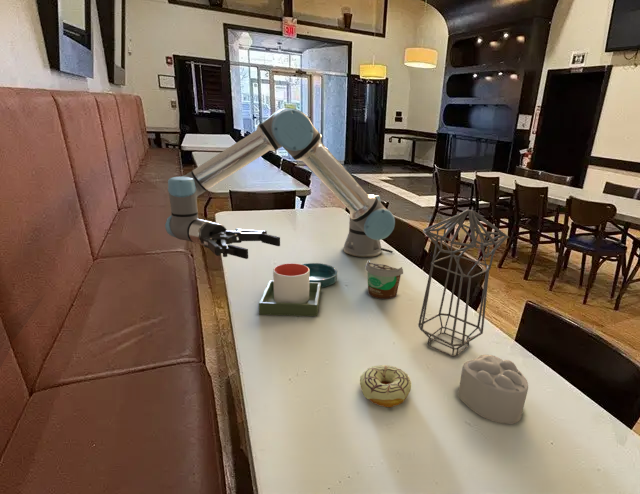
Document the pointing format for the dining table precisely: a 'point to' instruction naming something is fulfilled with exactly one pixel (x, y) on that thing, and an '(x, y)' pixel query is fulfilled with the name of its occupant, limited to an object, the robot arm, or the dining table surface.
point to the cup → (291, 283)
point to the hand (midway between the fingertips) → (264, 247)
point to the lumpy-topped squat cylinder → (493, 388)
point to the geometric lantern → (459, 220)
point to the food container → (382, 280)
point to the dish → (322, 273)
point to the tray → (293, 309)
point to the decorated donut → (385, 385)
